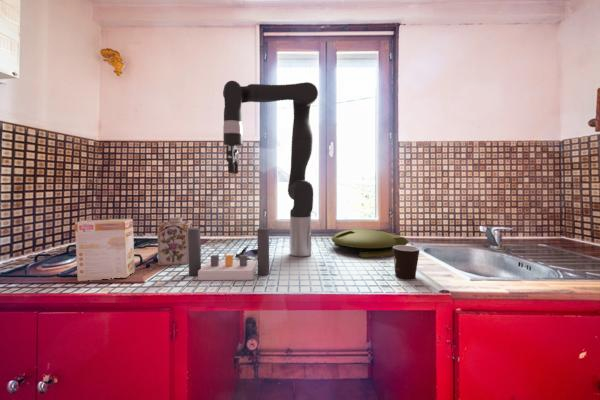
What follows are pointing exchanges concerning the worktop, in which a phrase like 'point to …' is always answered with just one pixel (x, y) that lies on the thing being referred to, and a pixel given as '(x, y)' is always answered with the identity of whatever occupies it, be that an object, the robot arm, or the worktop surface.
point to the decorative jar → (173, 242)
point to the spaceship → (369, 241)
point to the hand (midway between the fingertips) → (233, 173)
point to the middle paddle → (229, 260)
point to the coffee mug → (405, 261)
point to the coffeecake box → (104, 249)
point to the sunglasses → (249, 253)
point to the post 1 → (194, 251)
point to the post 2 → (263, 251)
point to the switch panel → (228, 269)
